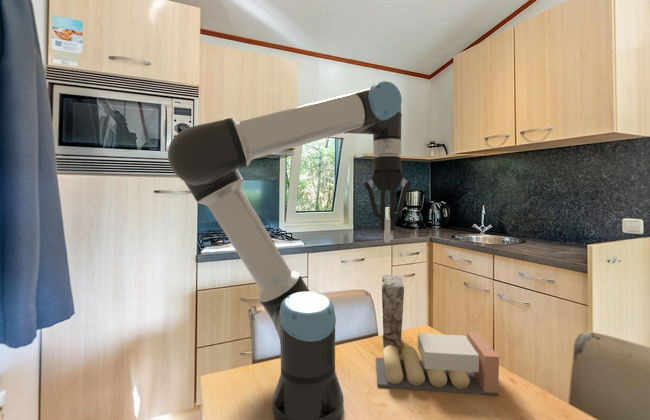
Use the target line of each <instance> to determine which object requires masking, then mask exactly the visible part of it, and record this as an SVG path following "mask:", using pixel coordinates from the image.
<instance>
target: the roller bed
mask: <svg viewBox="0 0 650 420" xmlns="http://www.w3.org/2000/svg"><path fill="white" fill-rule="evenodd" d="M382 353H383V357H375V367H376V368H375V369H376V384H377V385H376V386H377V387H379V388H391V389H392V388H394V389H405V390H417V391H418V390H419V391H430V392H432V391H433V392H444V393H445V392H446V393H457V394H458V393H459V394H469V395H470V394H471V395H472V394H473V395H474V394H475V395H484V393H485V395H484V396H497V395H498V396H499V393H498V394H497V393H493V395H492V394H491V393H490V392H484V391H483V389H482V388H481V386H480V384H479V383H478V381H477V379H476V378H475V376H474V374H473V373H472V372H466V371H451V370H436V369H425V368H424V365H423V362H422V359H421V360H420V357H419V355H418V352H417V350H416V348H415V347H414V346H410V345H409V346H405V347H404V348H403V349H402V351H401V356H402V358H400V354H398V350H397V348H396V347H395V346H393V345H388V346H386V347H385V348H384V347H383V352H382ZM487 394H488V395H487Z"/></svg>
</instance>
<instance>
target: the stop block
mask: <svg viewBox="0 0 650 420" xmlns="http://www.w3.org/2000/svg"><path fill="white" fill-rule="evenodd" d="M466 338H467V339H468V341H469V342H470V343H471V345H472V346H473V348H474V349H475V350H476V352H477V353H478V355H479V372H472V373H473V374H474V376H475V378H476V379H477V381H478V383H479V384H480V386H481V388H482V389H483V391H484V392H490V393H491V394H492V395H491V396H494V395H493V393H497V394H498V395H497V396H499V380H500V379H499V377H500V376H499V373H500V371H499V369H500V357H499V355H498V354H497V352H495V350H494V349H493V348H492V346H491V345H490V344H489V343H488V342H487V341H486V339H485V338H484V337H483V335H482V334H481V333H480V332H467V336H466ZM484 396H489V395H488V394H487V395H485V393H484Z"/></svg>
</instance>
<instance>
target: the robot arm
mask: <svg viewBox="0 0 650 420" xmlns="http://www.w3.org/2000/svg"><path fill="white" fill-rule="evenodd" d="M402 99H403V97H402V94H401V92H400V89H399V88H398V86H396V84H394V83H392V82H391V81H386V80H385V81H380V82H378V83H376V84H373V85H372V86H371V87H370V88H367V89H363V90H359V91H355V92H353V93H349V94H344V95H339V96H336V97H333V98H327V99H323V100H320V101H316V102H312V103H308V104H304V105H300V106H296V107H292V108H288V109H285V110H281V111H276V112H273V113H268V114H265V115H261V116H260V115H259V116H257V117H256V116H255V117H252V118H248V119H244V120H237V119H235V118H234V117H229V118H225V119H222V120H221V119H220V120H216V121H212V122H211V121H210V122H207V123H202V124H197V125H193V126H190V127H187V128H184V129H183V130H181V131H179V132H178V133H177V134H175V136H174V137H173V139H172V140H171V141H170V144H169V145H168V150H167V159H168V164H169V165H170V168H171V170H172V172H173V173H174V175H176V176H177V177H178V178H179V179H180V180H182V181H183V182H184V183H185V185H186V187H187V188H188V190H189V191H190V193H191V195H192V196H193V198H194V199H195V201H196V203H197V204H201V205H204V206H206V207H208V209H209V210H210V212H211V213H212V215H213V216H214V218H215V220H216V221H217V223H218V224H219V226H220V228H221V229H222V231H223V232H224V234H225V236H226V237H227V238H228V240H229V242H230V243H231V245H232V247H233V248H234V250H235V251H236V253H237V255H238V256H239V258H240V260H241V261H242V262H243V264H244V265H245V267H246V270H247V271H248V272H249V274H250V275H251V277H252V279H253V280H254V281H255V283H256V285H257V286H258V288H259V289H260V291H259V294H258V300H259V302H260V303H261V305H262V306H263V308H264V310H265V312H266V313H267V315H268V316H269V317H270V318H269V319H271V321H272V323H273V324H274V327H275V330H276V333H277V336H278V337H279V343H280V345H279V346H280V374H279V378H278V381H277V385H276V388H275V390H274V393H273V398H272V413H273V414H272V415H273V418H274V419H275V420H340V419H341V418H342V416H343V414H344V408H345V407H344V402H345V401H344V400H345V399H344V393H343V390H342V388H341V385H340V382H339V381H340V380H339V378H338V376H337V372H336V325H337V318H336V312H335V306H334V303H333V301H332V300H331V299H330V298H329V297H327V296H326V295H324V294H322V293H321V294H319V293H318V292H315V291H310V290H309V288H308V286H307V285H306V282H305V281H304V280H303V278H302V276H301V274H300V273H299V272H298V271H294V270H291V269H290V268H289V266H288V264H287V262H286V261H285V259H284V258H283V256H282V254H281V253H280V251H279V249H278V247H277V246H276V244H275V243H274V241H273V239H272V237H271V235H270V234H269V232H268V230H267V229H266V227H265V225H264V223H263V222H262V221H261V219H260V218H259V216H258V214H257V212H256V211H255V209H254V207H253V205H252V204H251V202H250V201H249V199H248V197H247V195H246V194H245V192H244V191H243V188H242V184H243V181H244V178H243V176H242V175H241V173H240V171H239V169H243V168H247V167H249V166H250V163H251V161H253V160H255V159H259V158H260V159H261V158H262V157H266V156H269V155H272V154H275V153H279V152H282V151H287V150H290V149H293V148H296V147H300V146H303V145H306V144H307V145H308V144H310V143H313V142H315V141H317V142H318V141H320V140H323V139H327V138H329V137H333V136H336V135H340V134H361V135H373V136H372V141H373V143H372V144H373V154H372V155H373V156H374V157H373V159H372V160H373V164H372V165H373V174H372V175H371V179H369V180H368V181H366V182H364V184H363V185H364V187H365V189H366V190H367V192H368V197H369V199H370V203H371V204H370V205H371V208H372V212H373V216H374V217H377V218H379V220H380V221H379V223H380V224H379V225H380V226H379V228H380V230H381V231H384V237H383V238H384V239H383V240H384V243H387V244H389V243H391V231H394V230H395V219H396V218H398V217H401V216H402V215H403V214H402V213H403V209H404V205H405V202H406V196H407V193H408V189H409V188H410V187H411V186H412V182H411V181H408V180H406V179H405V178H404V175H403V173H402V158H401V157H400V156H401V155H402V117H403V116H402V115H403V114H402ZM373 184H374V185H375V186H376V188H378V190H379V194H380V195H379V197H380V198H379V209H380V210H379V211H378V207H377V203H376V200H375V196H374V191H373V187H374V185H373ZM400 184H401V187H402V189H401V192H400V196H399V200H398V204H397V208H396V211H395V206H396V205H395V198H396V197H395V195H396V194H395V193H396V191H395V190H396V189H397V188H398V187H399V185H400ZM386 191H389V193H388V195H389V196H388V197H389V218H386Z"/></svg>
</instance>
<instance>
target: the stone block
mask: <svg viewBox="0 0 650 420" xmlns="http://www.w3.org/2000/svg"><path fill="white" fill-rule="evenodd" d="M404 298H405V286H404V283H403V279H402V277H401V276H400V275H399V276H397V275H390V274H384V275H382V283H381V300H382V301H381V306H382V307H381V309H382V329H383V331H382V332H383V333H382V335H383V336H382V344H383V349H384V348H385V347H386V346H388V345H393V346H395V347H396V348H397V350H398V354H399V355H400V354H402V351H401V345H402V343H401V342H402V330H403V316H404V315H403V314H404Z"/></svg>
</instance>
